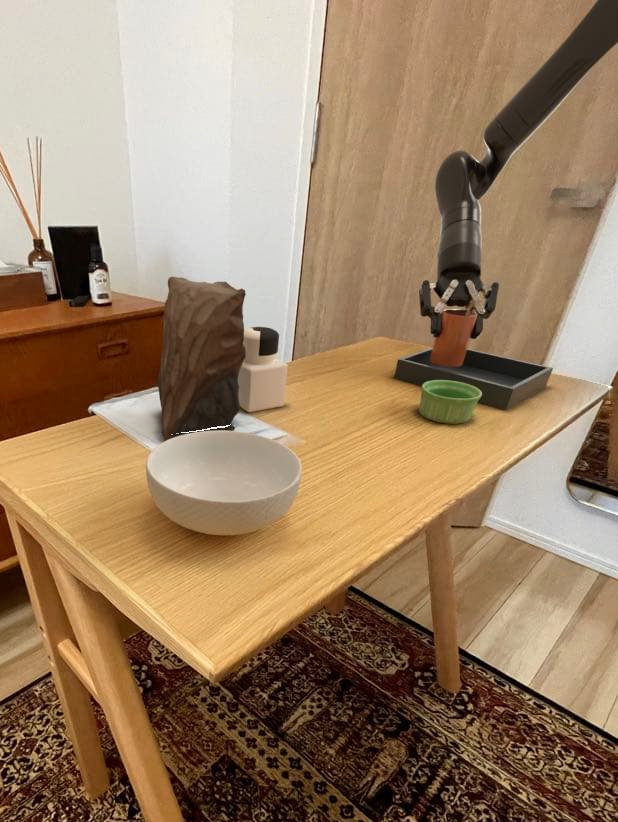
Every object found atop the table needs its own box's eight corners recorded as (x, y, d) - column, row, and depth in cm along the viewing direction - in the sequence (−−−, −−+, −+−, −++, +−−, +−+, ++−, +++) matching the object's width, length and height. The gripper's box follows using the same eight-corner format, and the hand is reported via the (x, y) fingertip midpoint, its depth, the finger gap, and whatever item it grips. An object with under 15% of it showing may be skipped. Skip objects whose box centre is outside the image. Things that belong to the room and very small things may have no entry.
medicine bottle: (263, 393, 89) (268, 322, 82) (284, 406, 84) (291, 332, 76) (228, 399, 86) (230, 326, 79) (247, 413, 81) (252, 337, 74)
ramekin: (482, 415, 81) (491, 389, 79) (458, 431, 76) (468, 403, 74) (430, 400, 86) (437, 375, 84) (405, 414, 81) (412, 388, 79)
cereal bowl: (326, 528, 55) (336, 472, 51) (199, 581, 47) (198, 521, 43) (238, 466, 66) (240, 417, 62) (125, 501, 59) (119, 448, 55)
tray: (438, 360, 106) (443, 343, 104) (545, 387, 93) (553, 367, 91) (393, 377, 96) (397, 359, 94) (505, 410, 83) (513, 389, 81)
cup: (439, 355, 100) (452, 307, 94) (468, 362, 96) (484, 312, 91) (423, 361, 97) (435, 311, 91) (453, 369, 93) (468, 317, 87)
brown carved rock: (159, 409, 82) (151, 274, 70) (234, 407, 83) (239, 274, 71) (160, 441, 72) (152, 291, 60) (245, 438, 73) (253, 290, 61)
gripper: (426, 239, 91) (422, 322, 89) (508, 241, 90) (506, 325, 87) (414, 267, 99) (410, 345, 96) (490, 269, 97) (487, 348, 95)
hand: (456, 335), depth 92 cm, fingers closed on cup, 6 cm apart
